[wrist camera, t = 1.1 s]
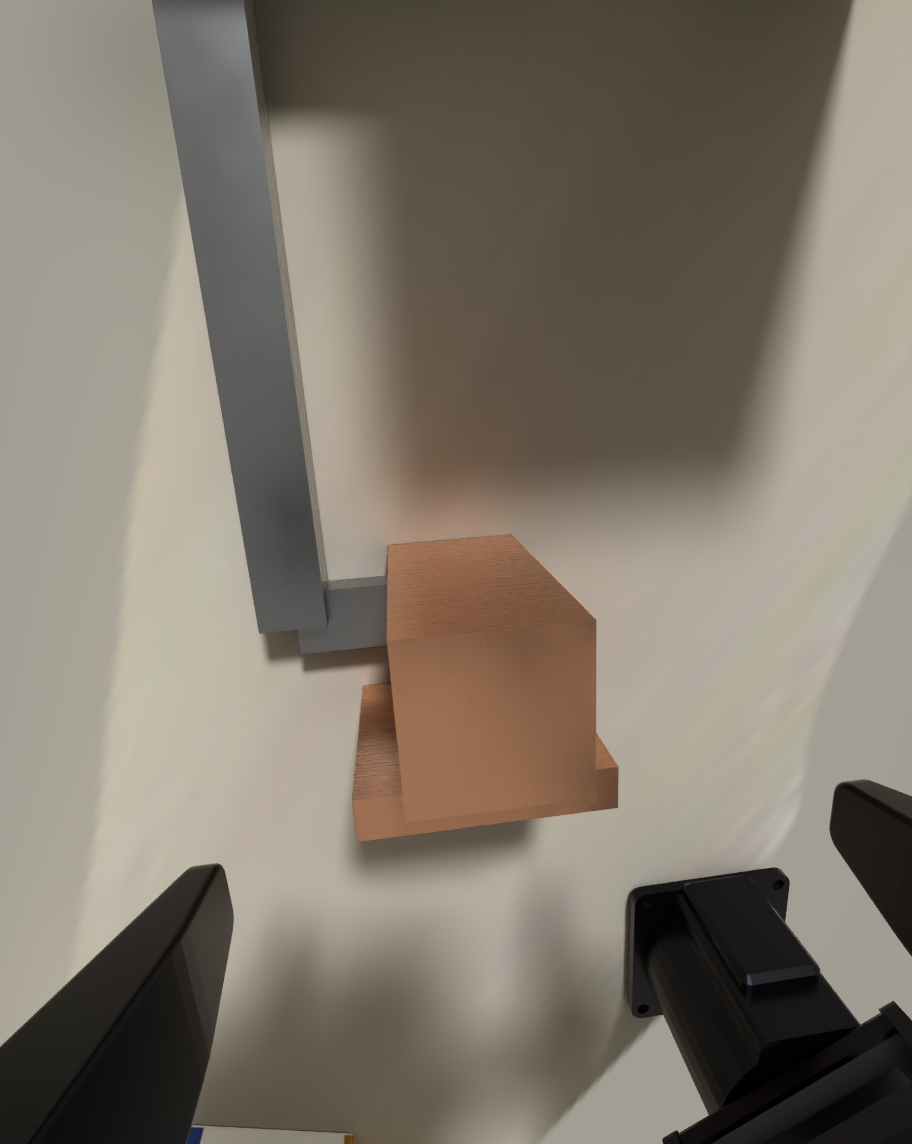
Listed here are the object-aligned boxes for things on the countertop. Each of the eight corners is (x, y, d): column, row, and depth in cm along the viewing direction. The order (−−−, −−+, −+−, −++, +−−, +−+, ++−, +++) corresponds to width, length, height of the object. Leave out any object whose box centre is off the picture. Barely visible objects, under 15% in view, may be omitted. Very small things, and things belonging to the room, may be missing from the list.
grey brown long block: (553, 696, 20) (651, 867, 13) (287, 726, 20) (221, 928, 12) (537, -147, 14) (714, -812, 6) (143, -156, 13) (-194, -933, 6)
